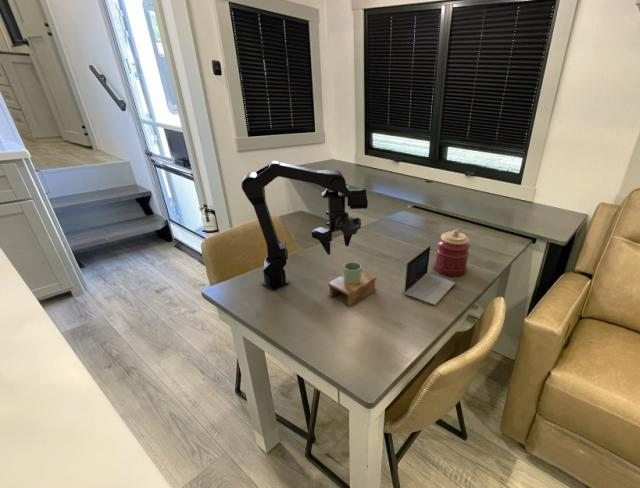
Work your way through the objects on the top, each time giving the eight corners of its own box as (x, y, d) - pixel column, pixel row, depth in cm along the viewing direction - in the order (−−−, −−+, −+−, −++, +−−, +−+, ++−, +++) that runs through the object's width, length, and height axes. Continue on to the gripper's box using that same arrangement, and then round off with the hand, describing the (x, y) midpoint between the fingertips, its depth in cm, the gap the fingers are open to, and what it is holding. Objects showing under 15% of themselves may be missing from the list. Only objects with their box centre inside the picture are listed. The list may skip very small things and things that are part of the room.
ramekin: (353, 286, 111) (352, 272, 109) (339, 280, 114) (339, 266, 112) (365, 279, 116) (365, 265, 113) (352, 273, 119) (352, 260, 116)
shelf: (349, 307, 110) (349, 293, 108) (328, 296, 115) (327, 282, 112) (376, 290, 120) (376, 277, 118) (355, 280, 125) (355, 267, 123)
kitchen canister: (471, 269, 139) (479, 231, 130) (453, 280, 130) (460, 239, 121) (446, 258, 146) (452, 221, 137) (428, 268, 137) (433, 228, 129)
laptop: (434, 306, 114) (439, 274, 107) (403, 294, 119) (406, 262, 113) (455, 284, 127) (460, 254, 121) (426, 274, 133) (429, 245, 126)
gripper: (333, 222, 102) (335, 266, 109) (372, 208, 115) (371, 248, 123) (309, 213, 107) (312, 256, 115) (349, 201, 121) (349, 240, 128)
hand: (338, 250), depth 120 cm, fingers open, 9 cm apart
